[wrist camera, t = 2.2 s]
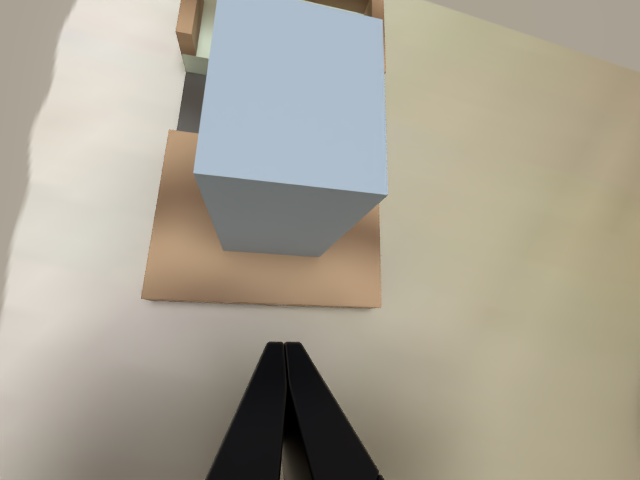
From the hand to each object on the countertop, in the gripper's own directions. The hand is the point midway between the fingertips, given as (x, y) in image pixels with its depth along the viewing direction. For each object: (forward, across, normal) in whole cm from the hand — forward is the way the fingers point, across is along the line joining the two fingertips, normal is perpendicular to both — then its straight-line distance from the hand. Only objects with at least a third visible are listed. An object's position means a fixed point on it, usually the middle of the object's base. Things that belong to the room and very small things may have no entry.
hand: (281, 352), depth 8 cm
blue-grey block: (+11, 0, 0) cm, 11 cm away
